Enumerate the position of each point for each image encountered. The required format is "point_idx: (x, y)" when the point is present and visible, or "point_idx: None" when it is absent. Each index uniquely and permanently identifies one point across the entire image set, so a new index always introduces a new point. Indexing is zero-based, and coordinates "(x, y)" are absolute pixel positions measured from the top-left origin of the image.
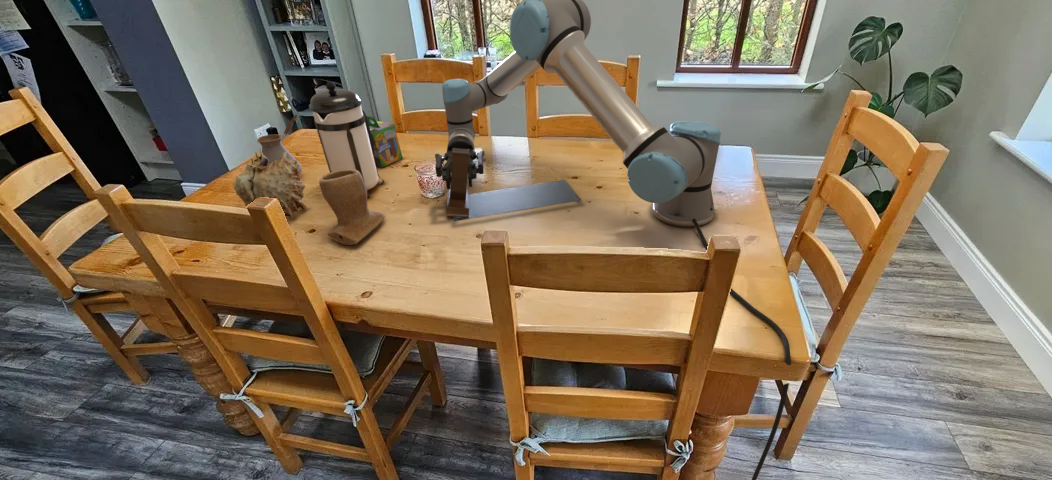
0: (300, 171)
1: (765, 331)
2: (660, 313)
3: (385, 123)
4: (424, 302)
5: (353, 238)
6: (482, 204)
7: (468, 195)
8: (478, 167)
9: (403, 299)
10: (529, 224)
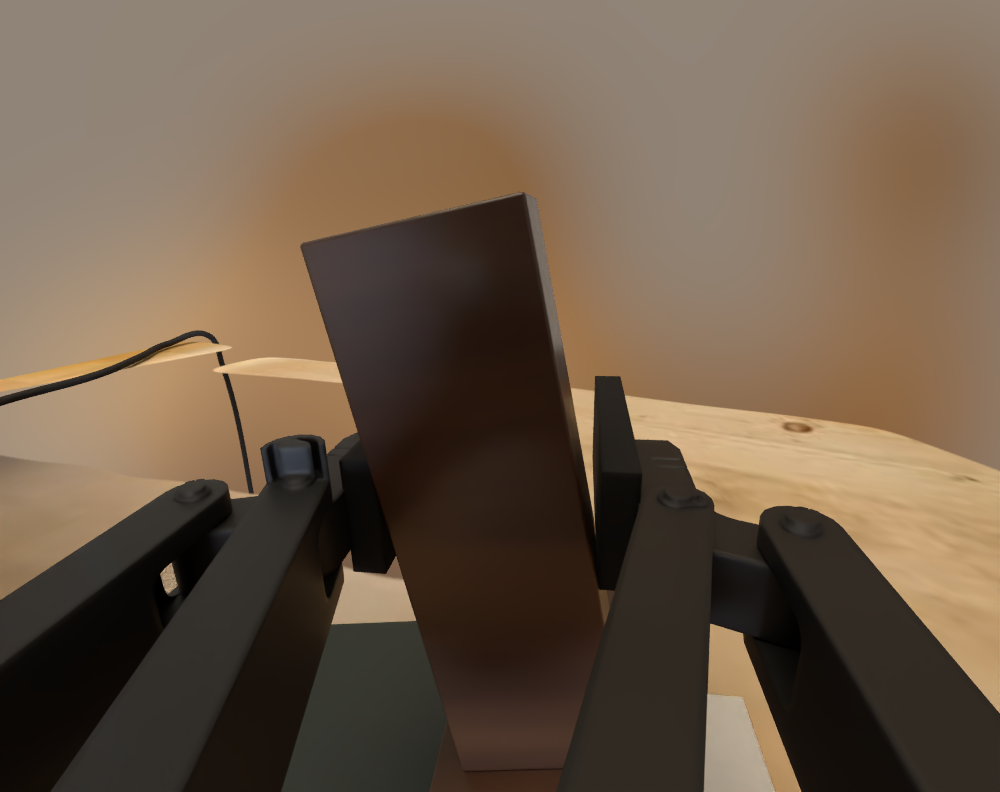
0: None
1: (175, 350)
2: (254, 366)
3: None
4: (639, 405)
5: None
6: (332, 787)
7: (434, 773)
8: (245, 500)
9: (691, 412)
10: None
